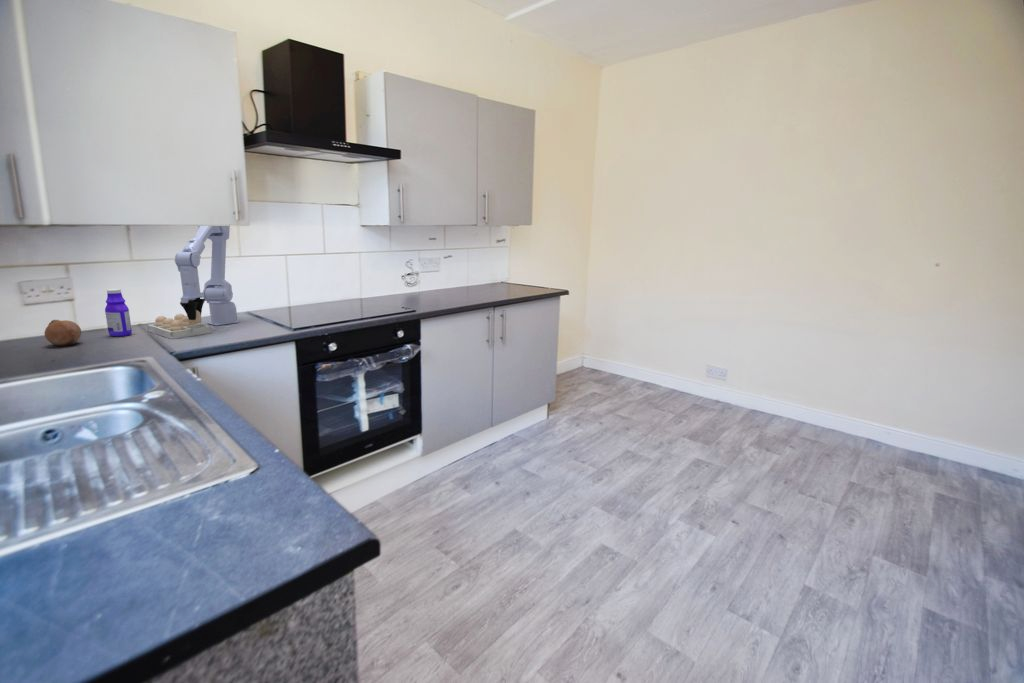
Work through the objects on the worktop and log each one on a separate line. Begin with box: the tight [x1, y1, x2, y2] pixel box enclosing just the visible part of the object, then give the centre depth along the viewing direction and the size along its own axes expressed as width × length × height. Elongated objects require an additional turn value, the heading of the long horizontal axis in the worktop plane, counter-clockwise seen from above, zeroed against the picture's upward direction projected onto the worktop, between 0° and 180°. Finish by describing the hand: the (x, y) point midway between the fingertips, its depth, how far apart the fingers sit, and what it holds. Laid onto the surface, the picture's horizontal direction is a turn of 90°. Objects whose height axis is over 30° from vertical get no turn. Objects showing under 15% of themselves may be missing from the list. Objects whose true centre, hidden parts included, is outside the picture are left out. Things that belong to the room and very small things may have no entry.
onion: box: [44, 319, 82, 347], centre depth 173 cm, size 10×9×10 cm
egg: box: [189, 310, 203, 324], centre depth 194 cm, size 4×4×5 cm
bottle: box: [104, 288, 133, 337], centre depth 187 cm, size 7×6×17 cm
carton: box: [147, 313, 212, 340], centre depth 196 cm, size 14×21×6 cm
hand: (195, 318), depth 194 cm, fingers closed on egg, 4 cm apart
